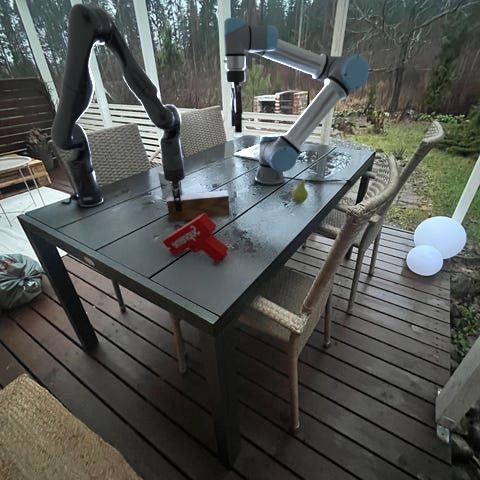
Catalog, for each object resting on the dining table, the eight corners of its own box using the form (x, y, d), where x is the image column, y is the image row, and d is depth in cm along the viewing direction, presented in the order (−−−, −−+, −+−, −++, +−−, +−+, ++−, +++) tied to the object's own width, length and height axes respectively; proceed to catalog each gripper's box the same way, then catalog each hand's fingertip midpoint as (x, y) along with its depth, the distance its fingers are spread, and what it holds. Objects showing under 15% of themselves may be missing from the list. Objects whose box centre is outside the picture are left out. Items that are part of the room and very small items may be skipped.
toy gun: (235, 250, 84) (205, 211, 80) (230, 257, 81) (199, 217, 77) (197, 268, 94) (169, 235, 90) (191, 276, 91) (162, 241, 87)
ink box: (177, 191, 132) (173, 167, 126) (183, 194, 129) (179, 170, 123) (161, 196, 127) (157, 172, 121) (167, 199, 124) (163, 174, 118)
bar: (227, 209, 116) (226, 190, 111) (229, 215, 111) (228, 195, 106) (170, 214, 112) (166, 195, 107) (169, 221, 107) (166, 201, 102)
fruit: (288, 200, 123) (290, 174, 116) (302, 197, 125) (305, 172, 119) (296, 206, 118) (299, 179, 111) (310, 203, 120) (314, 177, 114)
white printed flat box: (278, 164, 168) (279, 155, 165) (234, 155, 185) (234, 147, 183) (298, 154, 186) (299, 146, 183) (256, 147, 204) (256, 139, 201)
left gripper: (163, 161, 104) (169, 201, 113) (162, 173, 92) (169, 216, 101) (183, 159, 105) (188, 199, 115) (184, 171, 94) (189, 214, 103)
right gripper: (223, 69, 113) (225, 124, 125) (228, 70, 93) (230, 135, 104) (240, 69, 114) (241, 123, 126) (250, 70, 93) (249, 135, 105)
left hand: (179, 207), depth 108 cm, fingers closed on bar, 6 cm apart
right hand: (236, 129), depth 115 cm, fingers open, 13 cm apart
